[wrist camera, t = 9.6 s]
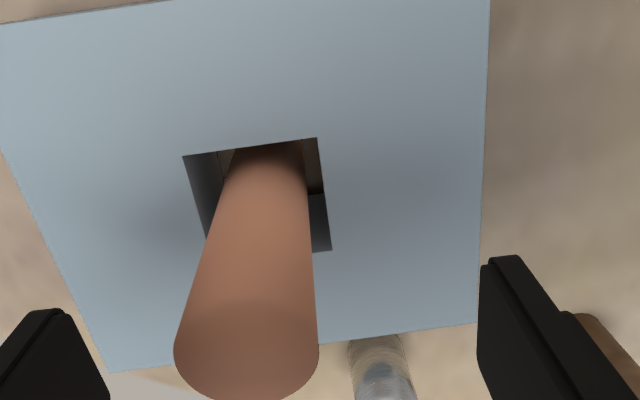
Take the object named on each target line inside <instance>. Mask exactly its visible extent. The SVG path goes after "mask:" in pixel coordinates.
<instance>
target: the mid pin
mask: <svg viewBox="0 0 640 400" xmlns="http://www.w3.org/2000/svg"><path fill="white" fill-rule="evenodd" d="M573 315H574V316H575V317H576V318H577V319H578V321H579V322H580V323H581V325H582V326H583V327H584V328H585V330H586V331H587V332H588V334H589V335H590V336H591V338H592V339H593V340H594V342H595V343H596V344H597V345H598V347H599V348H600V349H601V351H602V352H603V353H604V355H605V356H606V357H607V358H608V360H609V361H610V362H611V364H612V365H613V366H614V368H615V369H616V370H617V371H618V373H619V374H620V375H621V377H622V378H623V379H624V381H625V382H626V383H627V384H628V386H629V387H630V388H631V390H632V391H633V392H634V394H635V395H636V396H637V397H638V399H639V400H640V367H639V366H638V365H637V363H636V362H635V361H634V360H633V359H632V358H631V357H630V356H629V354H628V353H627V352H626V351H625V350H624V349H623V348H622V346H621V345H620V344H619V343H618V342H617V341H616V340H615V339H614V337H613V336H612V335H611V334H610V333H609V332H608V331H607V330H606V328H605V327H604V326H603V325H602V324H601V323H600V322H599V320H598V319H597V318H596V317H594V316H592V315H590V314H584V313H580V314H573Z"/></svg>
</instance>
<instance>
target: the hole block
mask: <svg viewBox="0 0 640 400" xmlns="http://www.w3.org/2000/svg"><path fill="white" fill-rule="evenodd" d="M489 20H490V0H154V1H147V2H140V3H133V4H126V5H119V6H112V7H105V8H98V9H91V10H84V11H77V12H70V13H63V14H56V15H50V16H43V17H36V18H29V19H23V20H18V21H12V22H6V23H0V150H1V152H2V154H3V156H4V158H5V160H6V162H7V164H8V166H9V168H10V170H11V173H12V175H13V177H14V179H15V181H16V183H17V185H18V187H19V189H20V191H21V193H22V195H23V197H24V199H25V201H26V203H27V205H28V208H29V210H30V212H31V214H32V216H33V218H34V220H35V222H36V224H37V226H38V228H39V230H40V232H41V234H42V236H43V238H44V240H45V242H46V245H47V247H48V249H49V251H50V253H51V255H52V257H53V259H54V261H55V263H56V265H57V267H58V269H59V271H60V273H61V275H62V277H63V280H64V282H65V284H66V286H67V288H68V290H69V292H70V294H71V296H72V298H73V300H74V302H75V304H76V306H77V308H78V310H79V312H80V315H81V317H82V319H83V321H84V323H85V325H86V327H87V329H88V331H89V333H90V335H91V337H92V339H93V341H94V343H95V345H96V347H97V350H98V352H99V354H100V356H101V358H102V360H103V362H104V364H105V366H106V368H107V370H108V372H109V373H117V372H124V371H131V370H138V369H145V368H153V367H160V366H167V365H174V364H175V362H174V357H173V344H174V341H175V337H176V334H177V331H178V328H179V324H180V321H181V318H182V315H183V312H184V309H185V306H186V302H187V299H188V296H189V293H190V290H191V287H192V284H193V280H194V277H195V274H196V271H197V268H198V265H199V262H200V258H201V255H202V252H203V249H204V246H205V243H206V240H207V236H208V233H209V230H210V227H211V224H212V221H213V218H214V214H215V211H216V208H217V205H218V202H219V199H220V195H221V192H222V189H223V186H224V181H223V177H222V173H221V169H220V165H219V161H218V157H217V153H216V151H221V150H228V149H235V148H242V147H249V146H256V145H263V144H270V143H277V142H284V141H292V140H299V139H306V138H313V137H316V138H317V146H318V153H319V160H320V167H321V175H322V182H323V189H324V193H322V194H315V195H308V209H309V222H310V235H311V249H312V262H313V276H314V289H315V303H316V316H317V330H318V343H319V344H326V343H333V342H340V341H348V340H355V339H362V338H369V337H377V336H384V335H391V334H398V333H406V332H413V331H420V330H427V329H434V328H442V327H449V326H456V325H463V324H471V323H476V317H477V294H478V272H479V249H480V226H481V203H482V180H483V157H484V134H485V111H486V88H487V66H488V43H489Z"/></svg>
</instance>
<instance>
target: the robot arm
mask: <svg viewBox="0 0 640 400" xmlns="http://www.w3.org/2000/svg"><path fill="white" fill-rule="evenodd" d="M476 353H477V361H478V365H479V369H480V371H481V374H482V376H483V378H484V381H485V383H486V385H487V388H488V390H489V392H490V395H491V397H492V399H493V400H639V399H638V397H637V396H636V395H635V394H634V392H633V391H632V390H631V388H630V387H629V386H628V384H627V383H626V382H625V381H624V379H623V378H622V377H621V375H620V374H619V373H618V371H617V370H616V369H615V368H614V366H613V365H612V364H611V362H610V361H609V360H608V358H607V357H606V356H605V355H604V353H603V352H602V351H601V349H600V348H599V347H598V345H597V344H596V343H595V342H594V340H593V339H592V338H591V336H590V335H589V334H588V332H587V331H586V330H585V328H584V327H583V326H582V325H581V323H580V322H579V321H578V319H577V318H576V317H575V316H574V315H573V314H572V313H570V312H568V311H561V312H560V311H559V309H558V308H557V307H556V305H555V304H554V303H553V301H552V300H551V299H550V297H549V296H548V295H547V293H546V292H545V290H544V289H543V288H542V286H541V285H540V284H539V282H538V281H537V280H536V278H535V277H534V275H533V274H532V273H531V271H530V270H529V269H528V267H527V266H526V265H525V263H524V262H523V260H522V259H521V258H520V257H519V256H518V255H507V256H499V257H491V258H489V261H488V265H482V266H481V269H480V286H479V308H478V329H477V351H476ZM0 400H110V393H109V391H108V389H107V387H106V385H105V383H104V381H103V379H102V377H101V375H100V373H99V371H98V369H97V367H96V365H95V363H94V361H93V359H92V357H91V355H90V353H89V351H88V349H87V347H86V345H85V343H84V341H83V339H82V337H81V335H80V333H79V331H78V329H77V327H76V325H75V323H74V321H73V319H72V317H71V316H70V315H69V314H66V313H64V311H63V310H61V309H60V308H52V309H44V310H35V311H31V312H29V313H28V314H27V315H26V316H25V317H24V318H23V320H22V321H21V322H20V323H19V325H18V326H17V327H16V328H15V329H14V331H13V332H12V333H11V334H10V336H9V337H8V338H7V339H6V340H5V342H4V343H3V344H2V345H1V346H0Z"/></svg>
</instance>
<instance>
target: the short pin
mask: <svg viewBox="0 0 640 400" xmlns="http://www.w3.org/2000/svg"><path fill="white" fill-rule="evenodd" d="M348 358H349V364H350V371H351V378H352V384H353V391H354V397H355V400H418V399H417V395H416V392H415V388H414V385H413V382H412V378H411V375H410V372H409V368H408V365H407V362H406V358H405V355H404V352H403V348H402V345H401V342H400V339H399V338H398V337H397V335H395V334H391V335H384V336H377V337H369V338H362V339H355V340H351V342H350V344H349V346H348Z"/></svg>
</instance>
